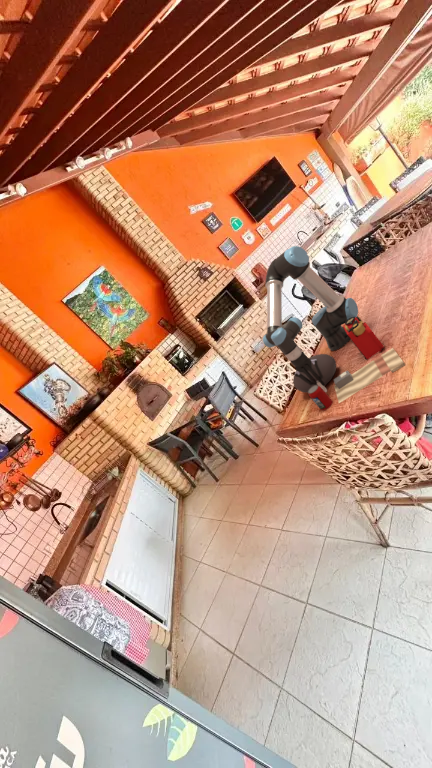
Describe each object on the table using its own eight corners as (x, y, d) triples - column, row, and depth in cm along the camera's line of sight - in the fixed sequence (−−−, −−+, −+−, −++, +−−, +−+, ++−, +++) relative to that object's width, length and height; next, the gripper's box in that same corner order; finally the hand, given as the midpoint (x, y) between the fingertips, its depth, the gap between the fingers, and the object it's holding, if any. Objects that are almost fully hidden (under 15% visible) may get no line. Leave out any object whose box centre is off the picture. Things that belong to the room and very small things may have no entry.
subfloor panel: (335, 387, 191) (334, 385, 191) (394, 349, 178) (392, 347, 178) (340, 405, 175) (338, 403, 175) (405, 364, 162) (403, 362, 162)
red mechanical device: (386, 349, 183) (362, 318, 179) (367, 362, 187) (343, 332, 182) (378, 339, 197) (355, 310, 193) (361, 351, 201) (338, 322, 197)
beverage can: (320, 409, 186) (305, 391, 183) (331, 400, 185) (315, 382, 182) (325, 413, 179) (309, 395, 176) (336, 404, 178) (320, 386, 175)
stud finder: (337, 384, 189) (332, 378, 188) (351, 375, 186) (346, 369, 185) (339, 389, 185) (334, 383, 184) (353, 379, 182) (348, 373, 181)
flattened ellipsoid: (339, 388, 188) (320, 366, 184) (299, 405, 205) (281, 386, 201) (346, 360, 205) (329, 340, 202) (308, 378, 222) (292, 360, 219)
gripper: (285, 367, 183) (315, 401, 188) (307, 351, 177) (338, 387, 183) (285, 361, 189) (314, 394, 195) (306, 345, 184) (336, 380, 190)
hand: (325, 391), depth 189 cm, fingers closed
